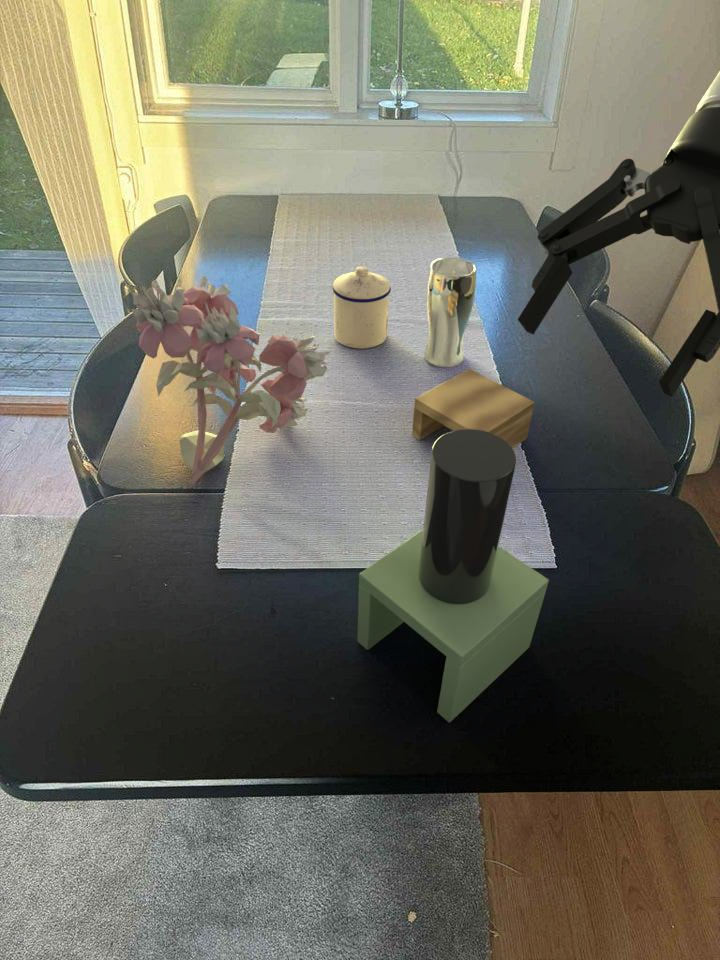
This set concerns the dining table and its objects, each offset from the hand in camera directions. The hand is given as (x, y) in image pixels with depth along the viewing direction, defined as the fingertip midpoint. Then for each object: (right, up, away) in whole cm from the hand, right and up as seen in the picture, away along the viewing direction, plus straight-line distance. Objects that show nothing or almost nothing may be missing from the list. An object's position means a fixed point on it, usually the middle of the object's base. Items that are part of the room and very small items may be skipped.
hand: (590, 356), depth 59 cm
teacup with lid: (-20, +14, +56) cm, 61 cm away
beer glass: (-6, +9, +51) cm, 52 cm away
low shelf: (-5, -5, +35) cm, 36 cm away
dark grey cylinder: (-11, -19, +3) cm, 22 cm away
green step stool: (-11, -27, +10) cm, 30 cm away
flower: (-34, -5, +34) cm, 49 cm away
